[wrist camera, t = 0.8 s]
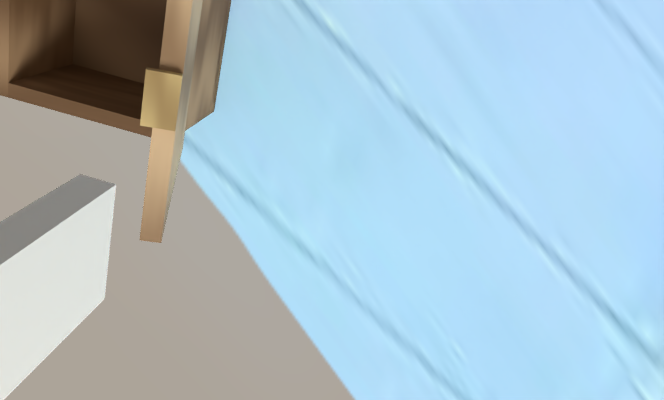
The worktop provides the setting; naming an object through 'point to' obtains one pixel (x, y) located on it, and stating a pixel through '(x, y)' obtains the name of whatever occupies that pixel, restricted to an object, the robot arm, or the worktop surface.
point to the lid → (168, 111)
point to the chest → (101, 56)
